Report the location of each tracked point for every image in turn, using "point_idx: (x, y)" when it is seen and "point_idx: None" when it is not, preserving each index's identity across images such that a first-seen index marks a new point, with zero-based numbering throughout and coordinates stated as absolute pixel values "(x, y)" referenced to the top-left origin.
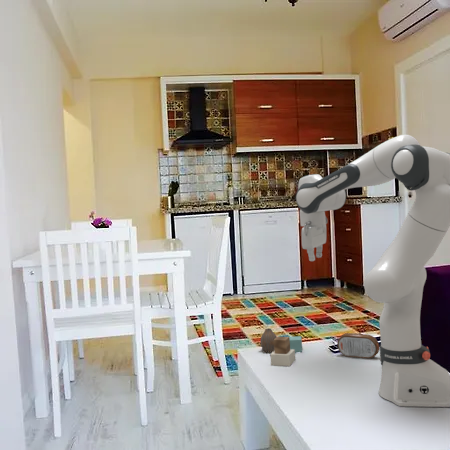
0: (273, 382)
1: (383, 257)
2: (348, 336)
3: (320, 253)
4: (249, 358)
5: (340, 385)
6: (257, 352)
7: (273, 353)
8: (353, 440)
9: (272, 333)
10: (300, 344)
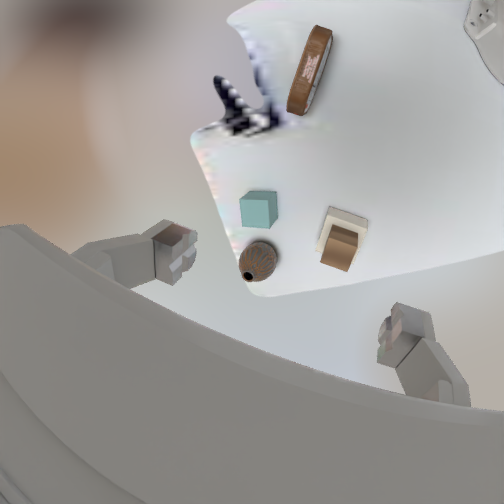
0: (442, 251)
1: None
2: (311, 87)
3: (176, 245)
4: (306, 287)
5: (478, 139)
6: None
7: None
8: None
9: (255, 264)
10: (271, 198)
